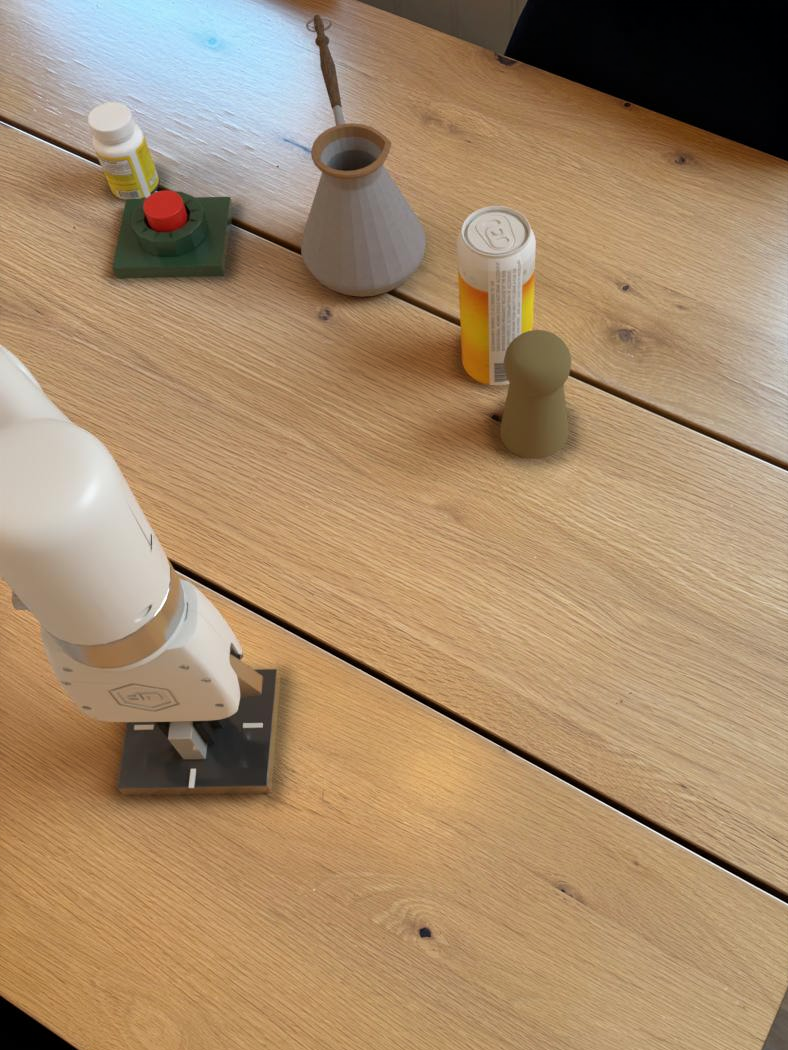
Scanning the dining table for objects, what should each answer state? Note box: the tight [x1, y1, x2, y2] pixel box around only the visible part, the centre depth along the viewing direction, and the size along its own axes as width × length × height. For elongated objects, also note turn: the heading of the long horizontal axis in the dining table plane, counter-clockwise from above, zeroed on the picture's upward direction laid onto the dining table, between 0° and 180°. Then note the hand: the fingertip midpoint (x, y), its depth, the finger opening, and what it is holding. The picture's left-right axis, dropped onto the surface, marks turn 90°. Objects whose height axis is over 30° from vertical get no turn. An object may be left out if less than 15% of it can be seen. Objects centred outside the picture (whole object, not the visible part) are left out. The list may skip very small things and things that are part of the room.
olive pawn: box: [499, 329, 572, 460], centre depth 84 cm, size 6×6×11 cm
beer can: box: [456, 205, 537, 386], centre depth 86 cm, size 6×6×15 cm
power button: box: [143, 190, 188, 232], centre depth 96 cm, size 4×4×2 cm
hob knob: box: [168, 721, 207, 759], centre depth 73 cm, size 5×2×4 cm, turn 1°
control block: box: [111, 190, 234, 279], centre depth 98 cm, size 10×9×4 cm
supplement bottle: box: [87, 101, 160, 202], centre depth 100 cm, size 5×5×8 cm
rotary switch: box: [116, 668, 281, 796], centre depth 76 cm, size 10×9×3 cm
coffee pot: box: [300, 14, 427, 298], centre depth 94 cm, size 21×12×15 cm, turn 13°
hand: (197, 724), depth 75 cm, fingers closed on hob knob
